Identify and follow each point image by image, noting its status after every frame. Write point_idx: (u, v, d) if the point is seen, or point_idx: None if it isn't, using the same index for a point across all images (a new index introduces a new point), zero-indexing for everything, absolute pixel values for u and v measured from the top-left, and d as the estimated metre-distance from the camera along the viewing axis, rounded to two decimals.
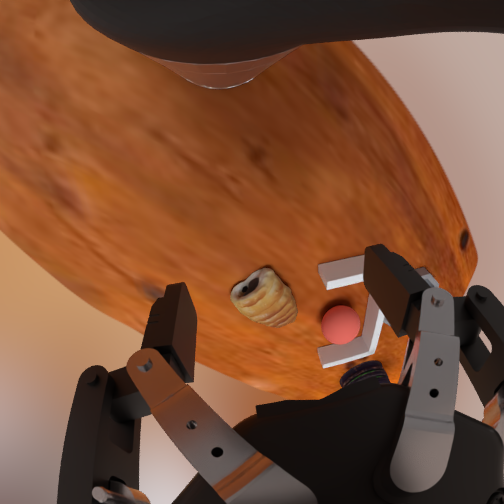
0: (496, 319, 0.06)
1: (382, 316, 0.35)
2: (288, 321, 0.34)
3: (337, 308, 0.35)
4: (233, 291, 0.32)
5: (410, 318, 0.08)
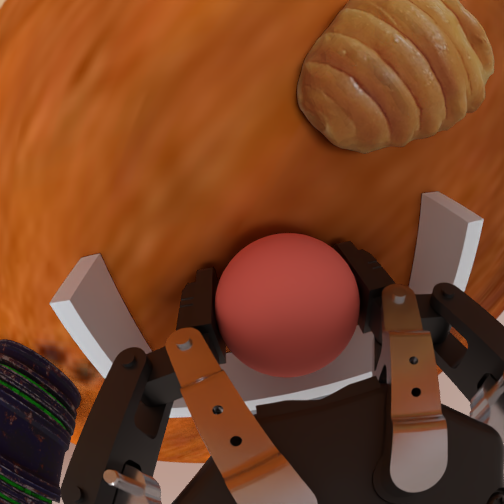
0: (468, 315, 0.06)
1: (302, 398, 0.13)
2: (371, 117, 0.07)
3: None
4: None
5: (373, 314, 0.09)
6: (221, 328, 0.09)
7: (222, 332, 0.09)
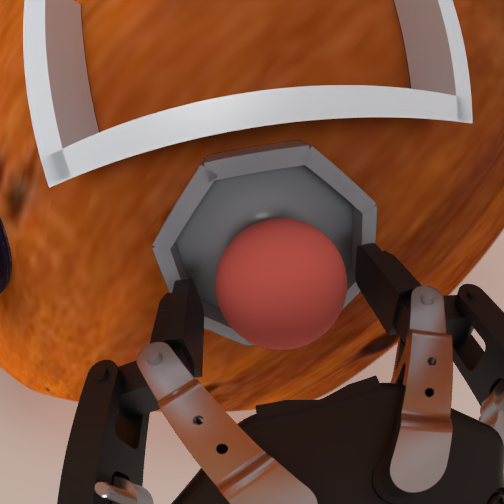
0: (489, 317, 0.06)
1: (293, 112, 0.08)
2: None
3: None
4: None
5: (400, 316, 0.08)
6: (221, 302, 0.10)
7: (222, 306, 0.10)
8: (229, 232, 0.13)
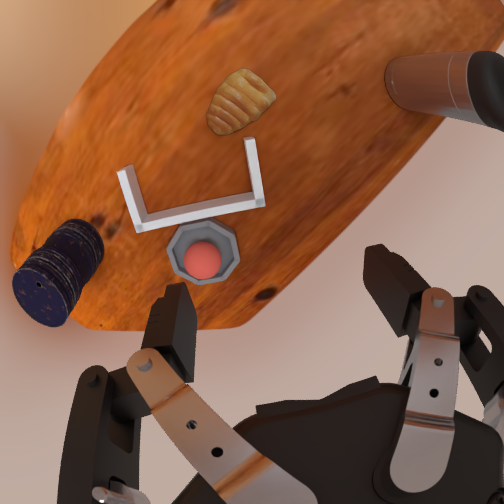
0: (496, 319, 0.06)
1: (199, 216, 0.36)
2: (223, 125, 0.31)
3: None
4: (249, 70, 0.29)
5: (410, 318, 0.08)
6: (184, 264, 0.38)
7: (184, 265, 0.38)
8: (189, 244, 0.41)
